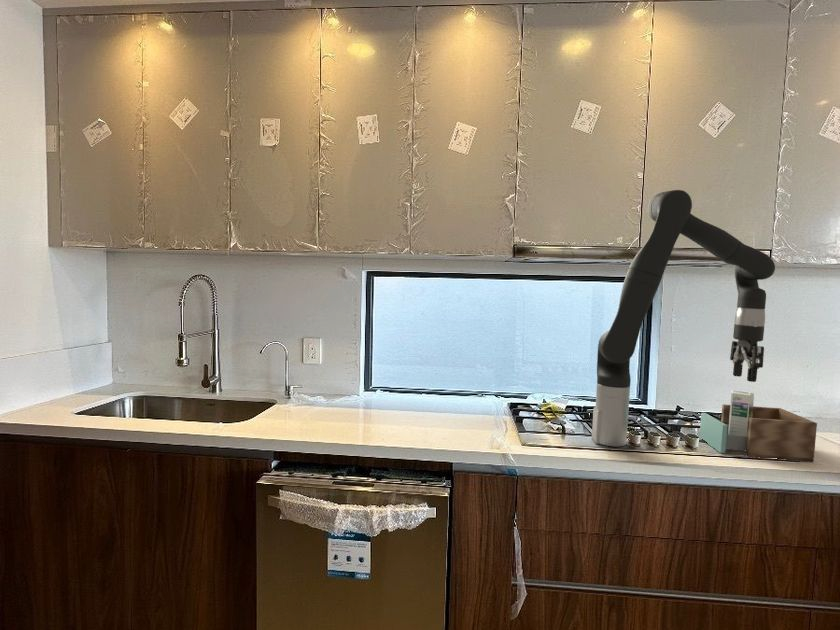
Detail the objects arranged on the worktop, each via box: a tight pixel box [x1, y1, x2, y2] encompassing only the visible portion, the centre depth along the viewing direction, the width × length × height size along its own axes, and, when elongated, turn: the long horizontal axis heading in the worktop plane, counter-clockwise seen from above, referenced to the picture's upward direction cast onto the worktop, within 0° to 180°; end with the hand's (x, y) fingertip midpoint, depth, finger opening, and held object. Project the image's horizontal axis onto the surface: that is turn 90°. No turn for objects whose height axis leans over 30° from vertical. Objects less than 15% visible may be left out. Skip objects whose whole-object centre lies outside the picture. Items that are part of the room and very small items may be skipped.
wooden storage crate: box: [720, 404, 818, 463], centre depth 157 cm, size 17×18×11 cm
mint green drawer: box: [699, 412, 748, 454], centre depth 158 cm, size 14×15×8 cm
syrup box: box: [728, 389, 755, 436], centre depth 158 cm, size 6×6×14 cm
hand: (744, 378), depth 157 cm, fingers open, 8 cm apart
